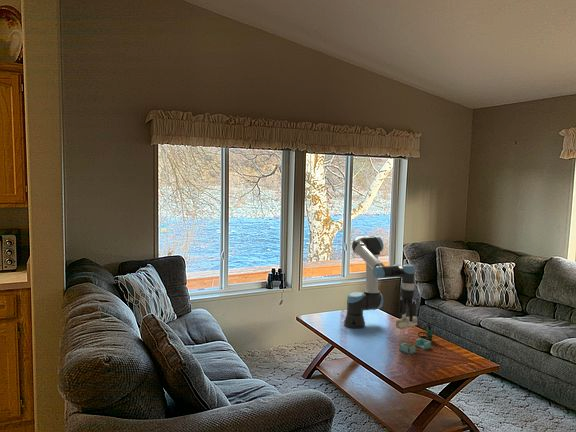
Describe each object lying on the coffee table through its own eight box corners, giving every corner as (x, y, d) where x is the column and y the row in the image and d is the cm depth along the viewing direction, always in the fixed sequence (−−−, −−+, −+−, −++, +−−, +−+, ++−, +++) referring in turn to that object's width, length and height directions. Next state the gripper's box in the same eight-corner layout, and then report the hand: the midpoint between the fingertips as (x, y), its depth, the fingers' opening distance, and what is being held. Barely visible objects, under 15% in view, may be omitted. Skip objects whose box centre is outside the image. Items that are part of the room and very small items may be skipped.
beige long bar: (395, 327, 274) (396, 319, 274) (412, 323, 284) (412, 315, 283) (400, 329, 271) (401, 321, 271) (417, 324, 281) (417, 317, 280)
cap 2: (430, 347, 275) (431, 341, 275) (425, 349, 272) (425, 343, 272) (421, 344, 281) (421, 338, 281) (415, 345, 278) (415, 339, 278)
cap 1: (399, 350, 270) (399, 344, 270) (405, 348, 273) (405, 342, 273) (409, 354, 264) (409, 348, 263) (415, 352, 267) (415, 346, 266)
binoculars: (416, 323, 293) (432, 322, 291) (417, 338, 294) (433, 338, 292) (417, 327, 285) (433, 327, 283) (418, 343, 285) (434, 343, 283)
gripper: (393, 287, 281) (392, 322, 282) (414, 292, 267) (413, 329, 268) (401, 285, 285) (400, 320, 287) (422, 291, 271) (421, 327, 272)
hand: (406, 325), depth 277 cm, fingers closed on beige long bar, 4 cm apart
